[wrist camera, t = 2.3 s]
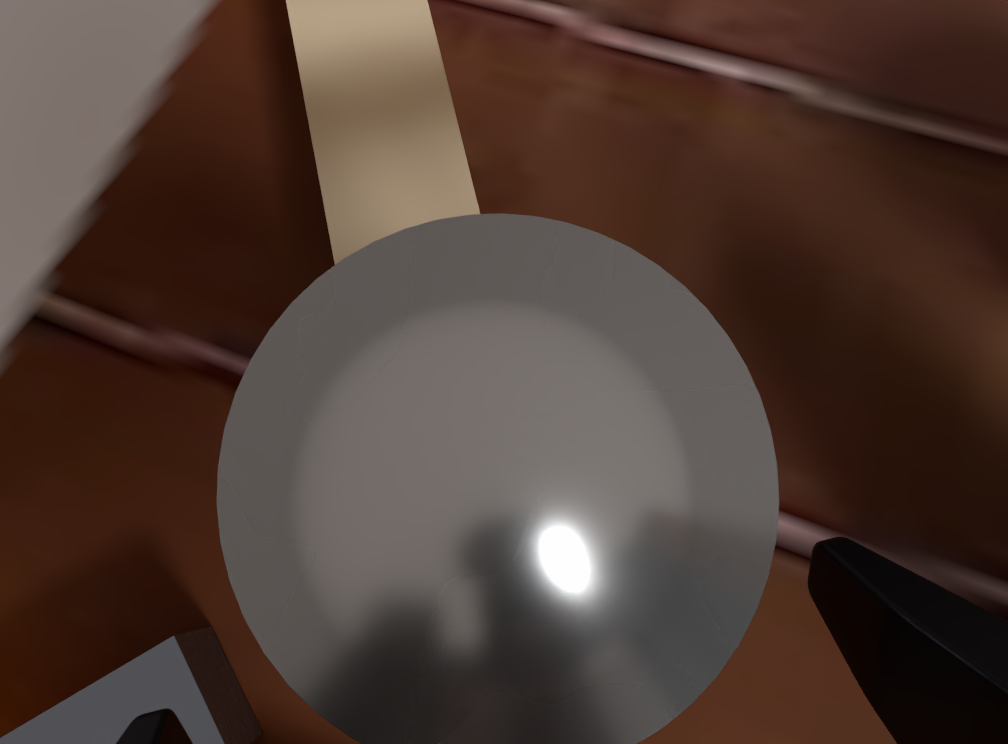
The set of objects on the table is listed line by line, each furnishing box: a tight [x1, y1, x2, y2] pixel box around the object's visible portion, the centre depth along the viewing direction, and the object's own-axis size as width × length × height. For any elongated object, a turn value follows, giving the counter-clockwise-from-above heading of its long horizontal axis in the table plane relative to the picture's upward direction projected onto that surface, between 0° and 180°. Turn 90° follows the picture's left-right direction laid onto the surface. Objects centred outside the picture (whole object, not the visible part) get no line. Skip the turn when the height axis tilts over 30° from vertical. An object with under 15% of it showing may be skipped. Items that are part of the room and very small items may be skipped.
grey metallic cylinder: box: [217, 213, 779, 744], centre depth 12 cm, size 5×5×14 cm
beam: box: [286, 0, 480, 265], centre depth 20 cm, size 12×4×3 cm, turn 13°
